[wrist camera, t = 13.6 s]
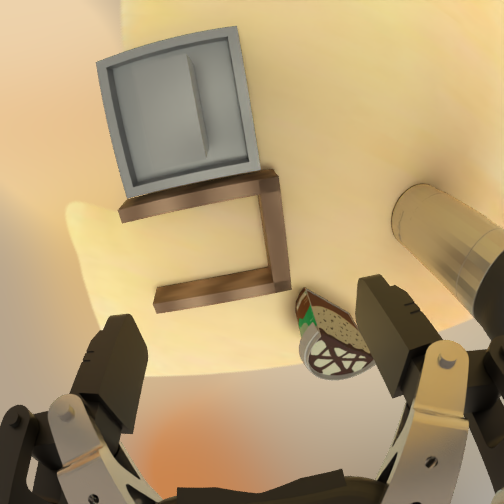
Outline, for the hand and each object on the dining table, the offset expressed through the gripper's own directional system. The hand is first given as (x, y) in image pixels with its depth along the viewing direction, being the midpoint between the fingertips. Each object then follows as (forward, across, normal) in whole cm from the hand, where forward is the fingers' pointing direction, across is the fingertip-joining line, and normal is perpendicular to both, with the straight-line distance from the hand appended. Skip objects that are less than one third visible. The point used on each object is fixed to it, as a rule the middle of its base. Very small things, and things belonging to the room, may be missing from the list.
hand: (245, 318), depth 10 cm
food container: (+25, -8, +22) cm, 34 cm away
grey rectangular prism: (+23, +4, -7) cm, 25 cm away
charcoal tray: (+24, +4, -8) cm, 25 cm away
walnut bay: (+24, +4, +8) cm, 25 cm away
